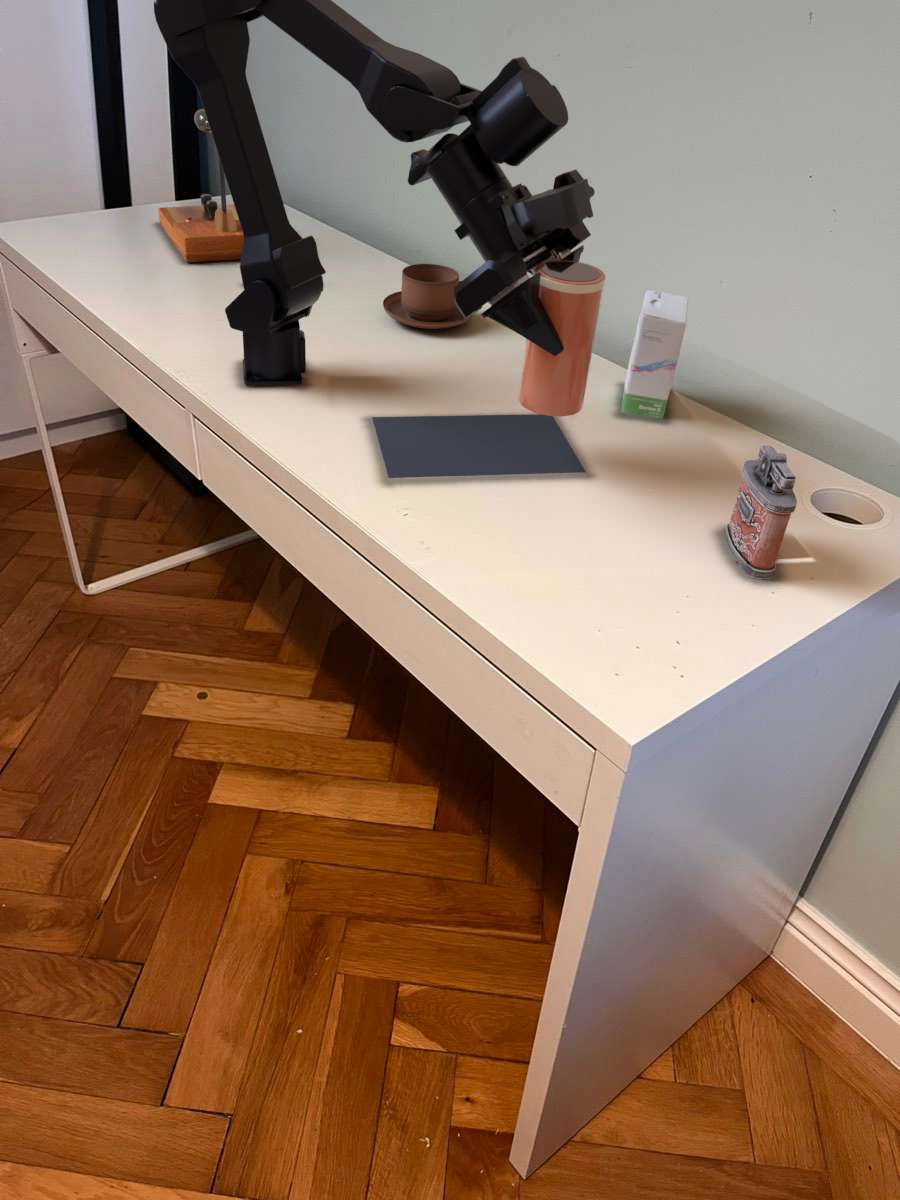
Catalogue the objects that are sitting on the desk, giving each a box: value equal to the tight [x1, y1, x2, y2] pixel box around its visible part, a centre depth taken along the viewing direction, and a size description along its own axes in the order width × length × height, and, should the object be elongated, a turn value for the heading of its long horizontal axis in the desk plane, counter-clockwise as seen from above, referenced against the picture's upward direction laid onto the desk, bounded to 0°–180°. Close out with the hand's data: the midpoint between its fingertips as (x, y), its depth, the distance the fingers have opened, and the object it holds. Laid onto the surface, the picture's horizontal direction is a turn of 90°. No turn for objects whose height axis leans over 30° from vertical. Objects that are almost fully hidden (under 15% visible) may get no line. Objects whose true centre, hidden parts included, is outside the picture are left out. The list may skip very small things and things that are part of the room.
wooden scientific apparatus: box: [157, 108, 244, 264], centre depth 142 cm, size 14×30×18 cm, turn 24°
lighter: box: [724, 444, 798, 580], centre depth 87 cm, size 8×3×10 cm, turn 5°
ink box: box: [621, 290, 689, 419], centre depth 111 cm, size 9×5×12 cm, turn 168°
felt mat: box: [371, 413, 586, 479], centre depth 103 cm, size 20×13×1 cm, turn 101°
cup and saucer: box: [382, 263, 474, 330], centre depth 129 cm, size 12×12×6 cm
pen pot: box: [518, 260, 606, 418], centre depth 94 cm, size 6×6×13 cm
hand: (573, 342), depth 94 cm, fingers closed on pen pot, 6 cm apart
